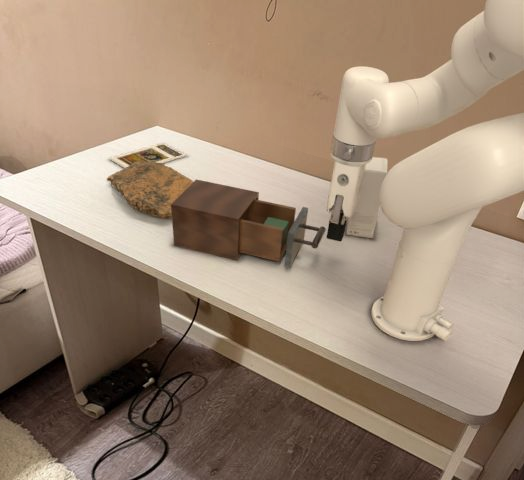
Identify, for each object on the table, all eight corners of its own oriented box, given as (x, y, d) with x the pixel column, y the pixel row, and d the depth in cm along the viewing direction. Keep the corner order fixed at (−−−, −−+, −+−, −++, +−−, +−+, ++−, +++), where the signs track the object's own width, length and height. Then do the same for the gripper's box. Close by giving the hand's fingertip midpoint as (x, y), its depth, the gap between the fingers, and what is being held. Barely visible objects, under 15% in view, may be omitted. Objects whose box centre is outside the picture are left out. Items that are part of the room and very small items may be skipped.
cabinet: (256, 231, 111) (258, 192, 104) (237, 260, 102) (238, 219, 95) (197, 218, 114) (196, 179, 107) (173, 245, 105) (170, 204, 98)
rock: (216, 183, 120) (165, 214, 106) (215, 203, 124) (165, 235, 110) (136, 150, 127) (78, 175, 113) (137, 170, 130) (81, 197, 117)
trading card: (109, 157, 133) (163, 142, 143) (109, 159, 134) (163, 144, 143) (131, 170, 128) (185, 154, 138) (131, 172, 129) (185, 155, 138)
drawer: (324, 244, 107) (330, 212, 101) (312, 272, 99) (317, 238, 93) (246, 227, 110) (247, 195, 105) (228, 253, 102) (228, 219, 97)
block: (286, 240, 105) (288, 221, 102) (280, 251, 102) (282, 231, 99) (266, 235, 106) (268, 216, 103) (260, 246, 103) (261, 227, 100)
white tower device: (372, 239, 111) (388, 173, 100) (343, 235, 112) (356, 168, 101) (374, 221, 117) (389, 157, 106) (346, 217, 118) (359, 153, 107)
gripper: (366, 169, 80) (345, 262, 93) (379, 137, 90) (359, 224, 103) (322, 160, 81) (307, 252, 94) (340, 129, 92) (325, 217, 105)
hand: (334, 238), depth 99 cm, fingers closed
